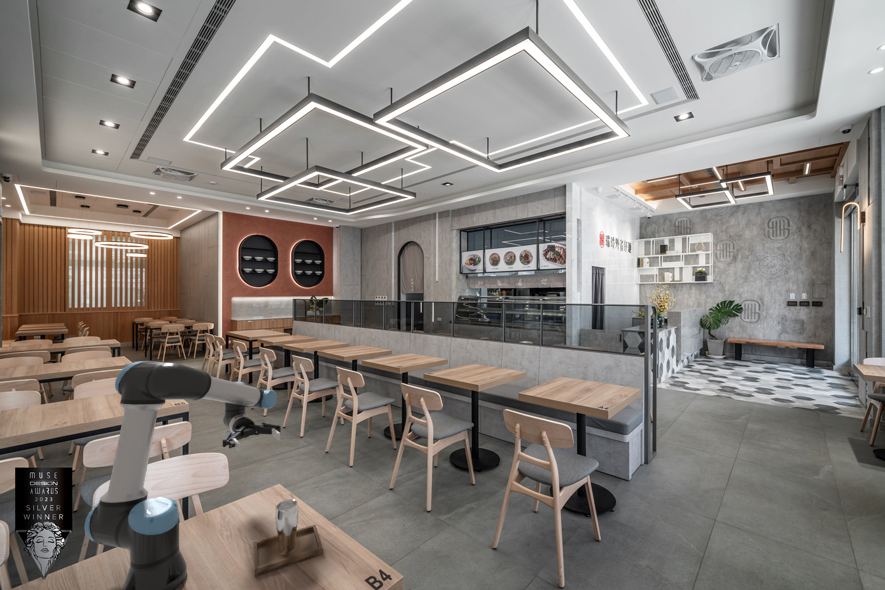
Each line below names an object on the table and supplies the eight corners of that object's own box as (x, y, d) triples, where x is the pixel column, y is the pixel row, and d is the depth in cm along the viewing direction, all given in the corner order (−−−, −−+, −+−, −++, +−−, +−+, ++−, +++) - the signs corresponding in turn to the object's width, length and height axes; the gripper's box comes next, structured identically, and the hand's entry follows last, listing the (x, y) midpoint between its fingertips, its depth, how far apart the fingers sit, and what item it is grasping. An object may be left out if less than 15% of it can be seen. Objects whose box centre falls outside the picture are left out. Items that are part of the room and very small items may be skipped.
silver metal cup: (291, 558, 123) (290, 511, 122) (271, 555, 124) (270, 509, 123) (302, 543, 129) (302, 499, 129) (284, 541, 131) (283, 497, 130)
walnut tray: (254, 576, 116) (254, 569, 116) (253, 548, 128) (253, 542, 128) (322, 554, 125) (322, 547, 125) (315, 530, 138) (315, 524, 138)
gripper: (274, 427, 162) (294, 442, 146) (206, 444, 145) (220, 463, 129) (274, 410, 161) (294, 423, 146) (206, 424, 144) (220, 441, 129)
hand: (259, 442), depth 137 cm, fingers open, 13 cm apart
